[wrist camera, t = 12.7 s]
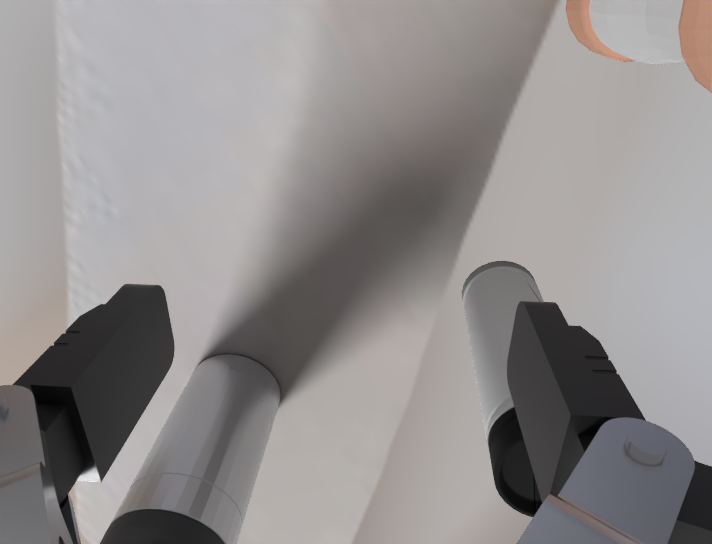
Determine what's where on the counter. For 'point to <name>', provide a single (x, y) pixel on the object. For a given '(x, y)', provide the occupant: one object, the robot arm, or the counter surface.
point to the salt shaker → (647, 31)
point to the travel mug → (500, 374)
